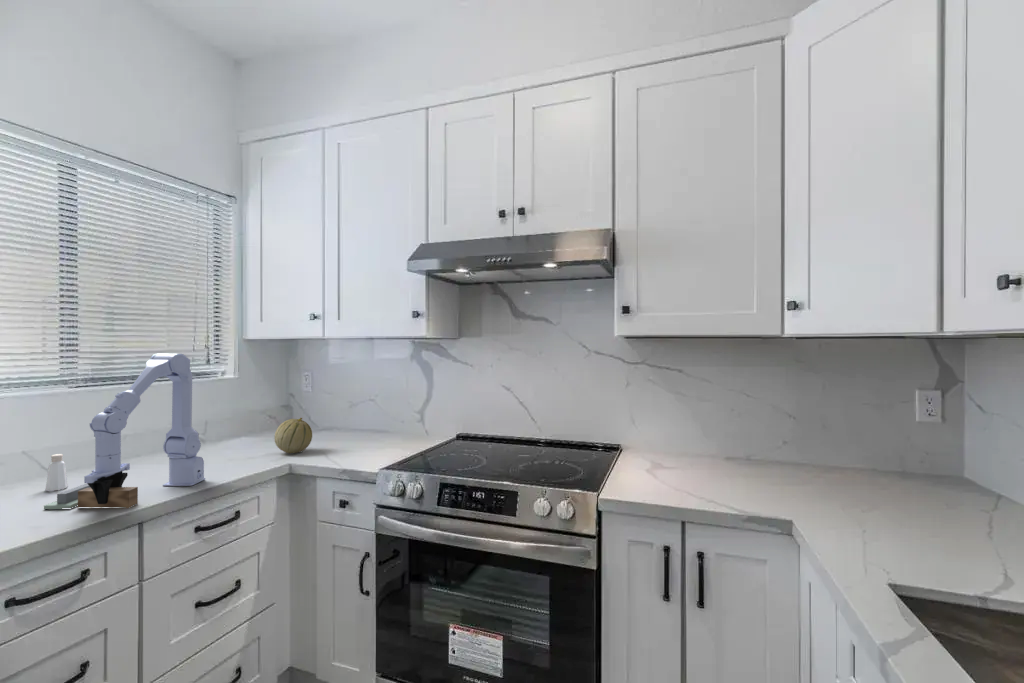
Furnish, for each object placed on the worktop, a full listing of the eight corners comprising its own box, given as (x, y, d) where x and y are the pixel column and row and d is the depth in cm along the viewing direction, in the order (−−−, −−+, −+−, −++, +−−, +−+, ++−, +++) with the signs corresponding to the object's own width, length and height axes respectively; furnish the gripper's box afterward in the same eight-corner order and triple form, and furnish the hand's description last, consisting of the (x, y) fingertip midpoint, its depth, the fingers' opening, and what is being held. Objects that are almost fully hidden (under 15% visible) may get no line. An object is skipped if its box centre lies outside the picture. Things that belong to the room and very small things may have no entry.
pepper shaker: (46, 492, 155) (46, 457, 155) (44, 489, 158) (44, 454, 158) (69, 488, 159) (69, 454, 159) (66, 485, 162) (67, 452, 162)
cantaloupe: (270, 452, 211) (270, 417, 211) (305, 447, 221) (305, 414, 221) (281, 458, 200) (281, 421, 200) (317, 453, 210) (317, 418, 210)
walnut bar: (137, 504, 144) (137, 486, 144) (129, 508, 141) (129, 490, 141) (87, 504, 144) (87, 487, 144) (77, 508, 140) (77, 491, 140)
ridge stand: (121, 488, 159) (122, 476, 159) (69, 509, 139) (69, 495, 139) (99, 488, 159) (99, 476, 159) (43, 509, 139) (43, 495, 139)
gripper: (112, 448, 149) (112, 493, 149) (72, 460, 135) (72, 510, 135) (136, 448, 150) (136, 493, 150) (99, 460, 135) (99, 509, 135)
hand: (108, 501), depth 142 cm, fingers closed on walnut bar, 3 cm apart
